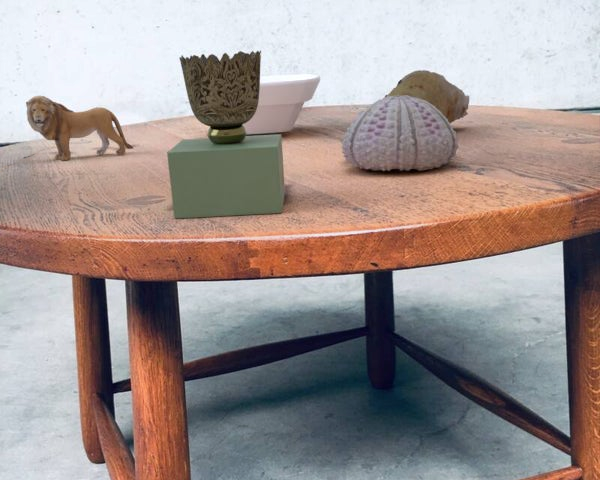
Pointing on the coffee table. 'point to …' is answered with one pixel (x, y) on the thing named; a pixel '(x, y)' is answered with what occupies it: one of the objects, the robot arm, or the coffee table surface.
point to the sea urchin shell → (400, 136)
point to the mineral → (434, 93)
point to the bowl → (281, 102)
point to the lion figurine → (73, 125)
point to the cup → (223, 92)
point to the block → (227, 177)
